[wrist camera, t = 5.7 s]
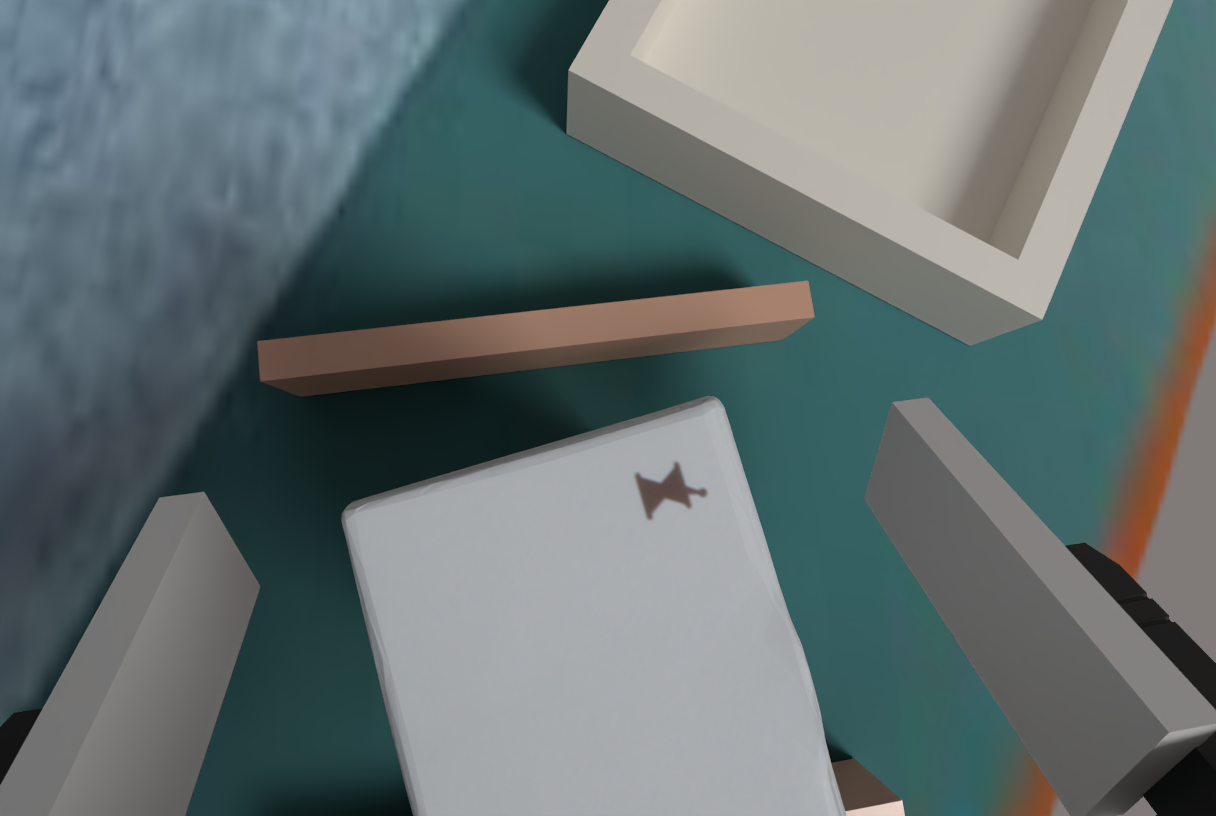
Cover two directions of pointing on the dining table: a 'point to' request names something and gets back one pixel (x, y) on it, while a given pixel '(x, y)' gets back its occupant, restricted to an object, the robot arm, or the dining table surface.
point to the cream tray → (879, 132)
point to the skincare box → (591, 632)
